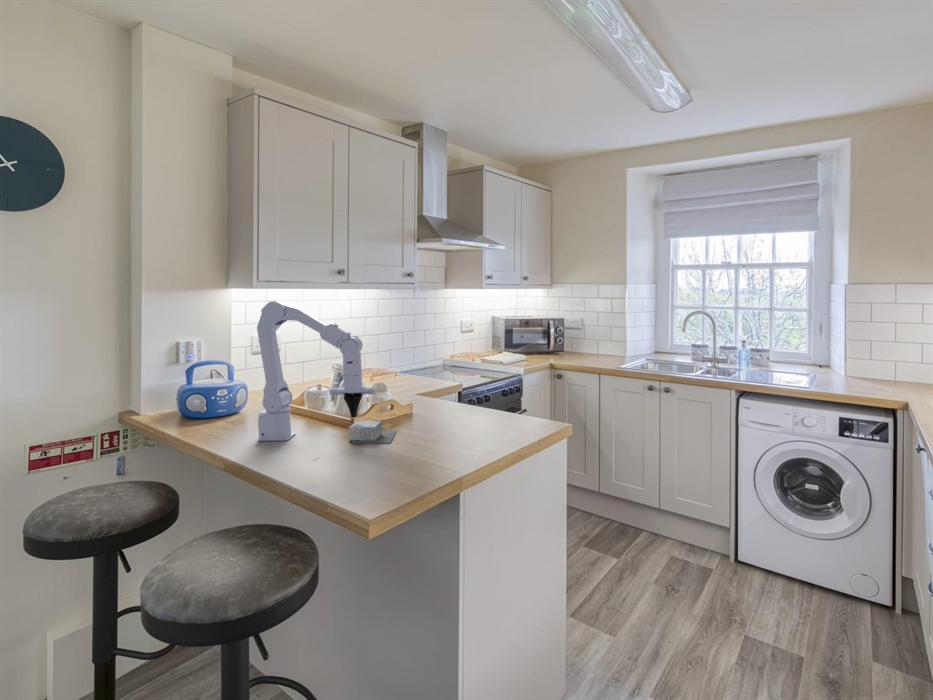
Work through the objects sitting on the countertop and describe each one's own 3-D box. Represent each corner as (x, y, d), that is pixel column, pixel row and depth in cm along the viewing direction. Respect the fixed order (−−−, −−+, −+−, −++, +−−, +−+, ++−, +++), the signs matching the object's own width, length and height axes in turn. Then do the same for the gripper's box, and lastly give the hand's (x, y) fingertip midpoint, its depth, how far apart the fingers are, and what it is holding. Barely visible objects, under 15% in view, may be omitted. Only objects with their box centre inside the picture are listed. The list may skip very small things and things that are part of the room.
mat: (351, 444, 158) (351, 443, 158) (360, 431, 172) (360, 431, 172) (390, 443, 158) (390, 442, 158) (396, 431, 172) (396, 430, 172)
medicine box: (348, 440, 161) (375, 441, 160) (347, 426, 160) (374, 427, 159) (357, 433, 169) (382, 434, 167) (356, 420, 168) (382, 421, 167)
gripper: (326, 377, 159) (328, 419, 160) (373, 376, 159) (374, 419, 160) (332, 373, 166) (333, 414, 167) (377, 373, 166) (378, 414, 167)
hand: (354, 416), depth 164 cm, fingers closed
